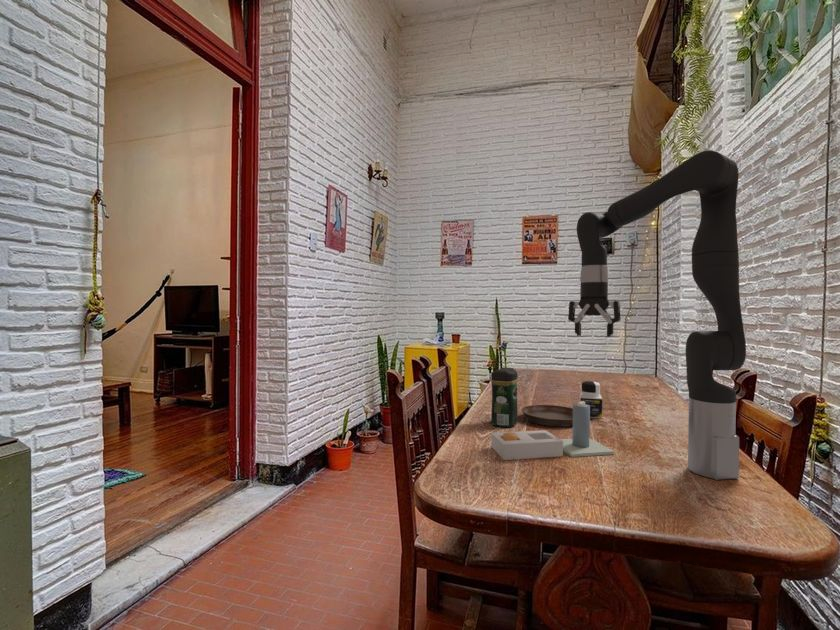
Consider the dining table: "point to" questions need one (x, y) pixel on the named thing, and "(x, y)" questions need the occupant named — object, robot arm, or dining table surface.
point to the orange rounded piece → (509, 436)
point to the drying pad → (585, 449)
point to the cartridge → (581, 425)
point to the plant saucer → (549, 415)
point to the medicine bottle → (592, 398)
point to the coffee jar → (504, 397)
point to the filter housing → (527, 445)
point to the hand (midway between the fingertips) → (593, 336)
